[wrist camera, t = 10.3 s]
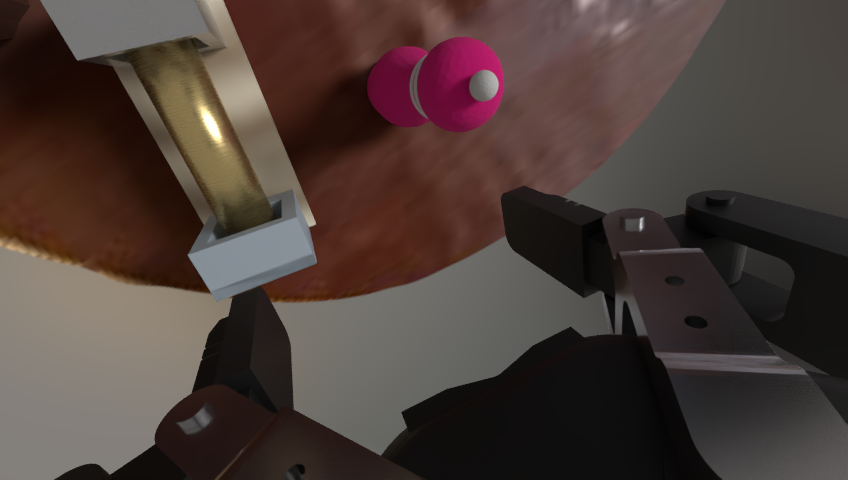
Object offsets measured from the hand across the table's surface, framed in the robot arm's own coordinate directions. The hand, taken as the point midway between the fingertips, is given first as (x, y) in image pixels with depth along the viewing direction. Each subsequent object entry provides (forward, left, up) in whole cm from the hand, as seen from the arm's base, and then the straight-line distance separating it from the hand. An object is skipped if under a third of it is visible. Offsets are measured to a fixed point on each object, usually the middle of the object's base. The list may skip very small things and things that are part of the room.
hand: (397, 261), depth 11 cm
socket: (+6, -8, -30) cm, 32 cm away
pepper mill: (-3, +10, -30) cm, 32 cm away
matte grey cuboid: (-12, -8, -29) cm, 33 cm away
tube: (-4, -8, -26) cm, 27 cm away
